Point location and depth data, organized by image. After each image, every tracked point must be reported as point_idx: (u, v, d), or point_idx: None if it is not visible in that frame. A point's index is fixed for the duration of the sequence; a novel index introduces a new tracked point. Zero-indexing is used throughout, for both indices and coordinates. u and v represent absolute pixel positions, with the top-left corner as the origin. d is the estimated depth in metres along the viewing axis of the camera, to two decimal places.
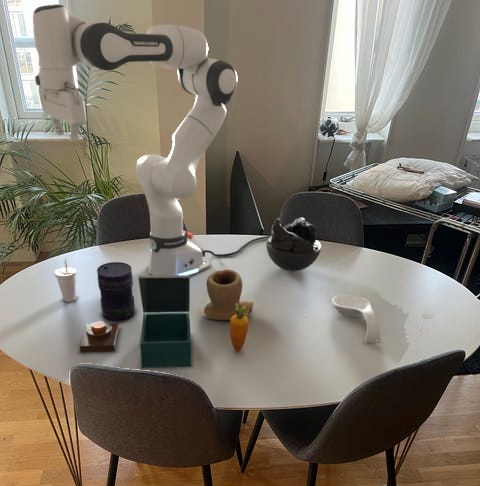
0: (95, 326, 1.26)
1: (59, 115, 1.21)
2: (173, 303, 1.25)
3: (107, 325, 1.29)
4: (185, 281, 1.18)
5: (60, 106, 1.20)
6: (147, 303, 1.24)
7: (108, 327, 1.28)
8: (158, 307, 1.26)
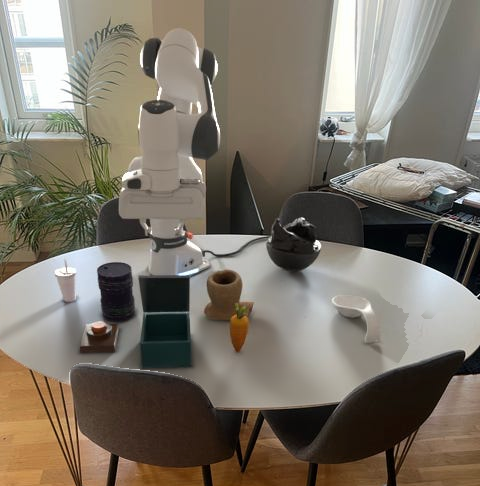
0: (95, 326, 1.26)
1: (168, 214, 1.11)
2: (173, 303, 1.25)
3: (107, 325, 1.29)
4: (185, 281, 1.18)
5: (173, 205, 1.10)
6: (147, 303, 1.24)
7: (108, 327, 1.28)
8: (158, 307, 1.26)
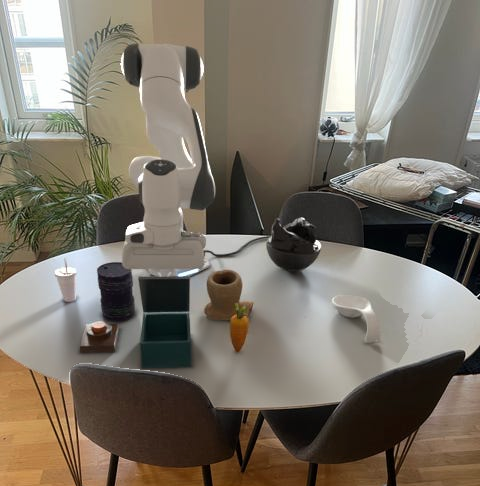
0: (95, 326, 1.26)
1: (169, 264, 1.15)
2: (173, 303, 1.25)
3: (107, 325, 1.29)
4: (185, 282, 1.18)
5: (174, 256, 1.14)
6: (147, 303, 1.24)
7: (108, 327, 1.28)
8: (158, 307, 1.26)
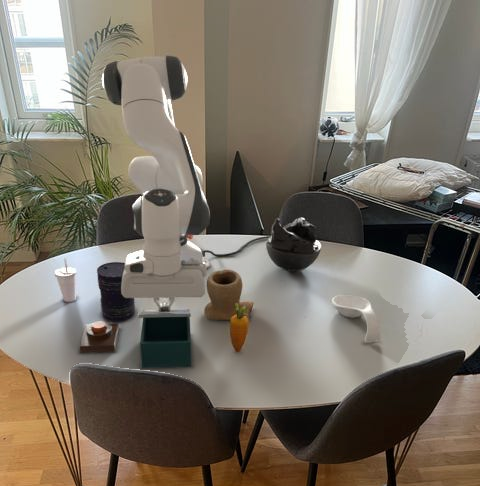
0: (95, 326, 1.26)
1: (169, 293, 1.13)
2: None
3: (107, 325, 1.29)
4: None
5: (174, 285, 1.12)
6: None
7: (108, 327, 1.28)
8: None
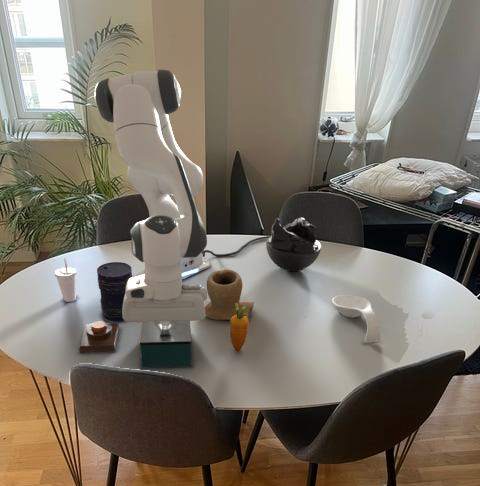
0: (95, 326, 1.26)
1: (170, 317, 1.14)
2: None
3: (107, 325, 1.29)
4: None
5: (175, 309, 1.13)
6: None
7: (108, 327, 1.28)
8: None
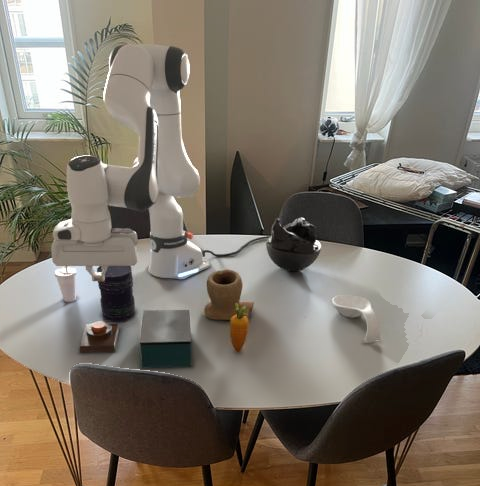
0: (95, 326, 1.26)
1: (100, 261, 1.14)
2: None
3: (107, 325, 1.29)
4: None
5: (105, 253, 1.13)
6: None
7: (108, 327, 1.28)
8: None
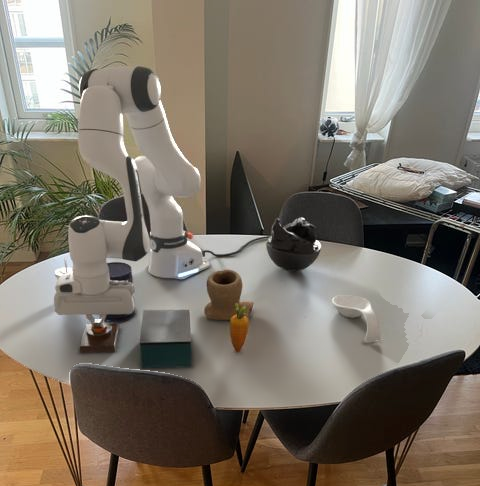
0: (95, 328, 1.26)
1: (99, 310, 1.22)
2: None
3: (107, 325, 1.29)
4: None
5: (104, 303, 1.21)
6: None
7: (108, 327, 1.28)
8: None
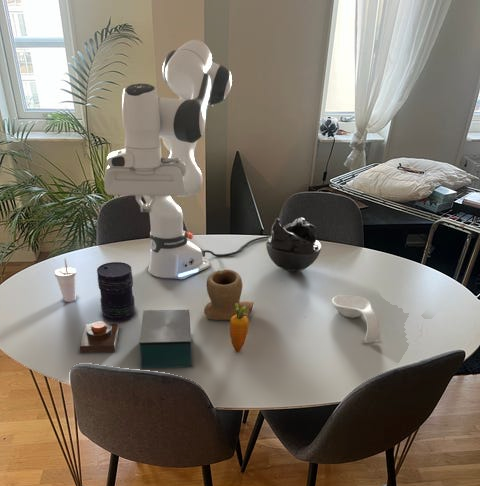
0: (95, 326, 1.26)
1: (150, 191, 1.19)
2: None
3: (107, 325, 1.29)
4: None
5: (155, 182, 1.18)
6: None
7: (108, 327, 1.28)
8: None
